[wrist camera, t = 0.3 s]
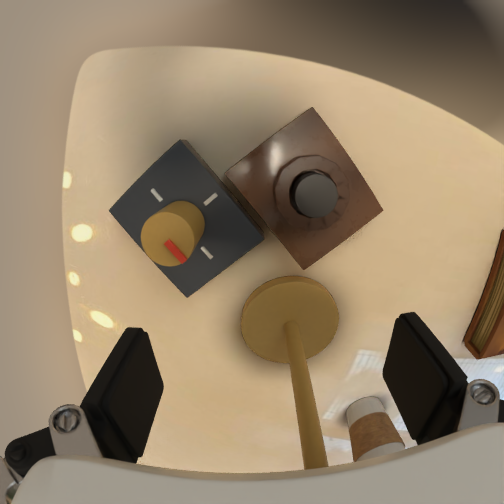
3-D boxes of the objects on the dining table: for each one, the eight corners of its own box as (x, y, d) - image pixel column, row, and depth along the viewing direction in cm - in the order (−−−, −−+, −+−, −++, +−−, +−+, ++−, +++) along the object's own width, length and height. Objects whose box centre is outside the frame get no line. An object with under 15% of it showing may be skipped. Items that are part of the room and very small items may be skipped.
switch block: (226, 171, 27) (222, 174, 23) (307, 109, 25) (316, 103, 21) (300, 262, 30) (306, 278, 26) (375, 206, 28) (391, 214, 24)
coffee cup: (385, 414, 40) (411, 481, 26) (339, 428, 41) (357, 500, 26) (388, 384, 37) (423, 459, 23) (337, 400, 38) (359, 482, 24)
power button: (283, 189, 24) (285, 192, 22) (316, 164, 23) (321, 165, 22) (308, 221, 25) (312, 226, 23) (340, 197, 24) (346, 200, 23)
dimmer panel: (118, 205, 28) (107, 211, 26) (186, 140, 26) (179, 139, 23) (191, 287, 31) (186, 299, 29) (263, 232, 29) (264, 239, 27)
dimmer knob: (150, 221, 26) (128, 237, 21) (183, 190, 25) (166, 200, 20) (180, 255, 27) (165, 278, 22) (214, 227, 26) (205, 245, 21)
